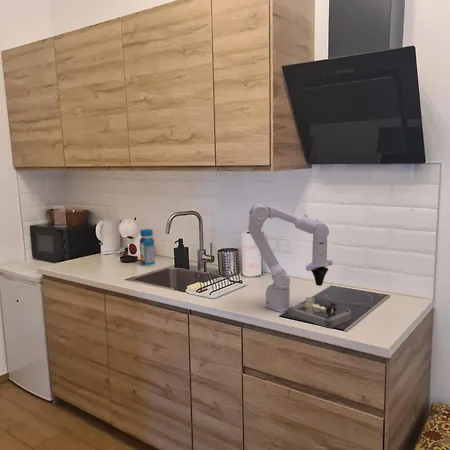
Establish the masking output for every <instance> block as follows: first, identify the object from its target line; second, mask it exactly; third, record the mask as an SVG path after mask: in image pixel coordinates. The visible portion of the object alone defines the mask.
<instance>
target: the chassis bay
mask: <svg viewBox="0 0 450 450" xmlns="http://www.w3.org/2000/svg"><path fill="white" fill-rule="evenodd" d="M305 303H306V301H305V302H302V303H300V304H296V305H294V306H293V307H290V308H288V310H287V315H288V316H291V317H294V318H297V319H300V320H303V321H305V322H306V321H307V322H309V323H313V324H316V325H318V326H322V327H324V328H328V329H333V328H334V327H336V326H339V325H341V324H344V323H347V322H349V321H350V320H351V319H352V313H350V312H348V311H344V312H340V313H338V314H336V316H333V317H330V318H328V317H324V316H321V315H318V314H315V313H314V314H311V313H308V312H305V307H304V306H305Z"/></svg>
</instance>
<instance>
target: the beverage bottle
mask: <svg viewBox="0 0 450 450" xmlns="http://www.w3.org/2000/svg"><path fill="white" fill-rule="evenodd" d="M153 231H154V230H152V229H149V228H145V229H141V230H140V239H139V258H140V266H143V267H151V266H154V265H155V264H156V261H155V260H156V259H155V256H156V255H155V240H154V238H153Z"/></svg>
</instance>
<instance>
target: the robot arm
mask: <svg viewBox="0 0 450 450" xmlns="http://www.w3.org/2000/svg"><path fill="white" fill-rule="evenodd" d="M248 214H249V216H248V227H247V230H248V233H249V234H250V236H251V238H252V240H253V241H254V244H255V245H256V246H257V249H258V251H259V253H260V254H261V256H262V258H263V260H264V262H265V263H266V266H267V267H268V269H269V271H270V273H271V280H272V281H273V283H272V284H269V285H268V286H267V288H266V291H265V305H264V307H265V308H266V309H270V310H272V311H277V312H278V313H283V312H286V311H287V312H288V308H290V307H293V306H292V305H290V296H291V295H290V293H291V292H290V290H291V288H290V287H291V285H290V284H291V279H290V276H289V275H288V273H287V272H286V270H285V269H283V267H281V265H280V262H279V261H278V259H277V257H276V256H275V254H274V252H273V250H272V249H271V246H270V245H269V242H268V241H267V239H266V237H265V235H264V232H263V231H262V228H263V225H264V223H265V222H266V221H267V219H268V218H269V219H275V218H277V219H279V220H283V221H286V222H289V223H291V224H294V226H295V229H298V230H300V231H302V232H306V233H308V234H310V235H311V234H312V255H311V256H312V260H311V263H309V264H307V265H306V266H305V271H308V272H311V273H312V275H313V278H314V281H315V284H316V285H315V286H319V287H321V286H323V284H324V280H325V276H326V275H327V274H328V271H329V268H328V267H329V266H333V260H331V259H328V236H329V234H330V230H329V227H328V226H327V225H326V223H324V222H321V221H320V220H319V219H313V218H310V217H309V215H308V214H300V215H295V214H292V213H290V212H287V211H286V210H284V209H281V208H279V207H276V206H273V205H270V204H265V203H263V202H256V203H254V204H253V205H252V206H251V208H250V210H249V213H248Z"/></svg>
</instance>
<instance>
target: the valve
mask: <svg viewBox="0 0 450 450" xmlns="http://www.w3.org/2000/svg"><path fill="white" fill-rule="evenodd" d="M305 302H306V303H305ZM305 302H304V303H305V306H304V307H305V312H308V313H311V314H314V315H315V312H316V313H319V312H323V313H324V312H325V313H326V315H327V319H328V318H330V317H333V316H336V315H337V313H336V312H337V310H338V307H337V303H335V302H330V305H328V307H325V306H321V305H320V304H319V303H316V304H315V297H313V296H307V297H305Z"/></svg>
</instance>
